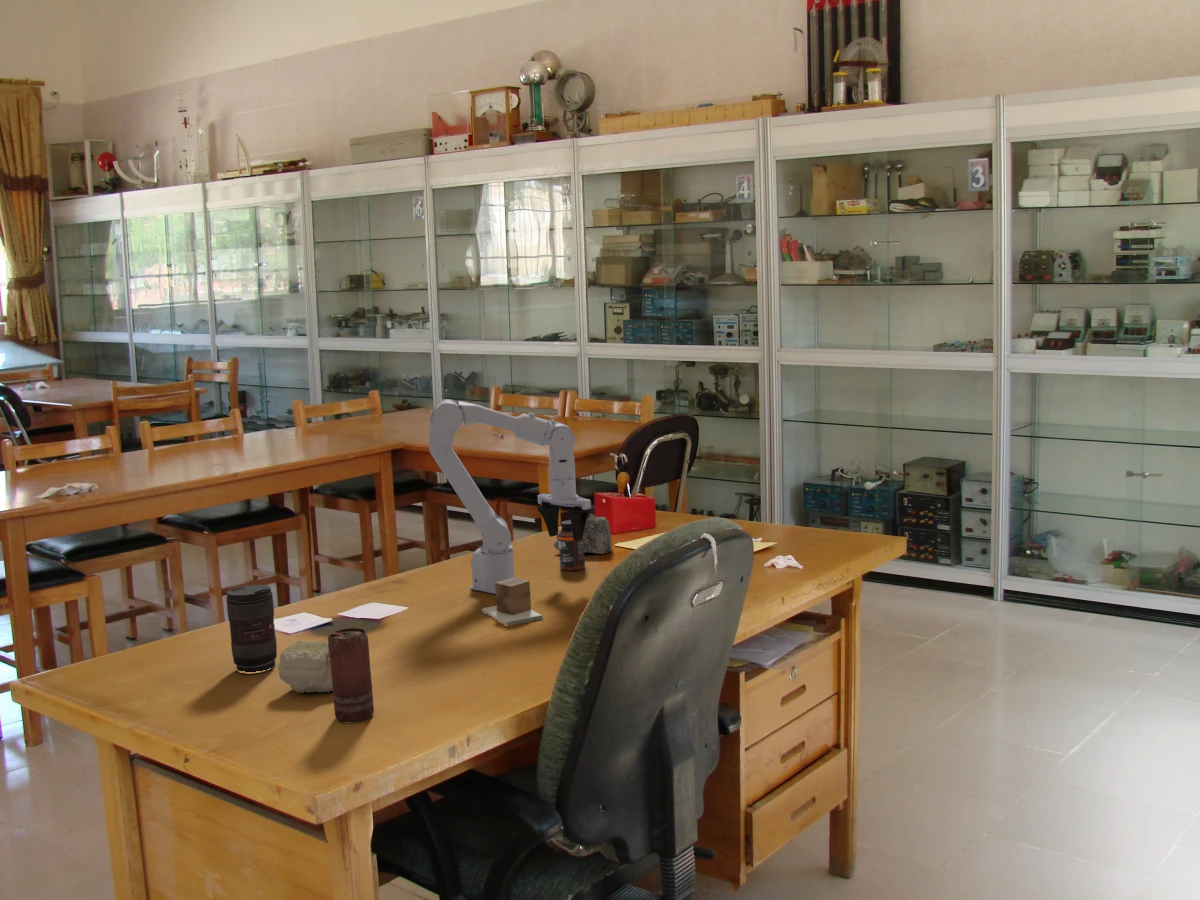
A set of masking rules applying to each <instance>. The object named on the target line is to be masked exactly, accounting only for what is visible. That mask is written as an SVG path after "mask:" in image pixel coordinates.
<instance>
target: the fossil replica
mask: <svg viewBox="0 0 1200 900" xmlns="http://www.w3.org/2000/svg"><path fill="white" fill-rule="evenodd" d="M277 667H278V675H279V678H280V680H281V681H283V682H284V683H285V684H287V685H289V686H290V688H291V689H292V690H293V691H295V692H297V693H298V692H299V693H300V694H302V693H304V692H310V693H313V692H314V693H322V692H325V693H326V692H328V691H329V692H328V693H331V692H330V691H333V686H332V675H331V664H330V653H329V648H328V640H327V641H326V640H314V641H313V640H312V641H311V640H310V641H302V640H297V641H296V642H294V643H291V644H290V645H289V646H287V647H285V648H284V649H283V650H282V651H281V653H280V655H279V664H278V666H277Z"/></svg>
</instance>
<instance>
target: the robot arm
mask: <svg viewBox="0 0 1200 900" xmlns="http://www.w3.org/2000/svg"><path fill="white" fill-rule="evenodd" d="M463 422H464V423H463ZM476 423H477V424H478V423H479V424H483V425H487V426H492V427H494V428H495V427H496V428H499V429H503V430H507V431H511V432H512V433H513V436H514V437H515V439H517V440H522V441H525V442H528V443H531V444H534V445H535V444H536V445H537V446H538V445H539V446H542V447H545V446H548V453H549V454H548V456H549V457H548V469H549V489H550V491H549V492H550V494H549V493H541V494H538V495H537V504H540V506H537V511H538V513H540V515H541V517H542V519H543V521H544V524H545V526H546V529H547V533H548V536H549V537H551V538H553V537H554V536H556V537H557V535H558V533H559V517H560V516H559V514H560V509H561V507H567V508H569V507H570V508H572V509H568V510H567V514H568V516H569V518H570V519H569V520H571V523H572V529H573V538H574V540H575V541H577V540H581V539H582V538H583V533H584V528H585V524H586V521H587V519H588V516H589V514H591V512H592V502H591V499H588V498H584V497H581V496H579V494H577V486H576V485H577V484H576V482H577V481H576V463H575V461H576V460H575V456H574V451H575V450H574V446H575V443H576V437H575V434H574V432H573V431H572V429H571V428H570V427H569V426H568V425H566V424H563V423H562V422H561V421H559V422H558V421H556V420H555V419H550V420H548V419H544V418H540V417H537V416H536V414H535V413H533V412H528V413H521V414H520V415H518V416H513V415H510V414H506V413H505V412H502V411H501V412H500V411H498V410H494V409H492V408H489V407H486V406H482V405H480V404H477V403H476V404H475V403H473V402H472V403H471V402H467V401H463V400H462V401H461V400H460V401H459V400H458V401H455V400H453V399H451V398H446V399H445V398H444V399H441V400H439V401H438V402H437V403H436V404H435V405H434V407H433V410H432V412H431V415H430V417H429V436H428V450H429V453H430V455H431V456H432V458H433V459H434V461H435V463H436V464H437V466H438V467H439V469H440V471H441V472H442V473H443V474H444V476H445V478H446V480H447V481H448V482H449V484H450V485H451V487H452V489H453V490H454V492H455V493H456V495H457V496H458V498H459V499H460V501H461V503H462V505H463V506H464V507H465V508H466V510H467V512H468V513H469V514H470V516H471V518H472V519H473V522H474V523H475V525H476V526H477V529H478V530H479V532H480V535H481V541H482V545H481V546H480V547H478V548H476V550H474V552H472V553H473V554H472V556H471V560H470V565H471V568H470V569H471V579H472V585H471V586H470V587H469V589H470V590H475V591H479V592H484V593H489V594H493V595H496V590H495V583H496V582H499V581H503V580H506V579H510V578H513V577H515V566H514V565H515V563H514V549H513V548H514V547H513V545H511V541H512V534H511V531H510V530H509V525H508V523H507V521H505V519H503V518H502V517H501V516H499V515H497V513H495V511H494V509H493V508H492V507H491V506H490V504H489V502H488V501H487V499H486V498H485V497H484V495H483V493H482V492H481V490H480V488H479V487H478V485H477V484H476V482H475V481H474V479H473V478H472V477H471V475H470V473H469V471H468V470H467V469H466V467H465V466H464V464H463V463H462V461H461V459H460V458H459V457H458V456H459V455H457V453H456V452H455V450H454V449H453V443H454V440H455V435H456V433H457V432H458V430H459V429H460V427H461V426H462V424H464V426H465V427H467V426H470V425H473V424H476Z"/></svg>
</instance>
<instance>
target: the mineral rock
mask: <svg viewBox="0 0 1200 900" xmlns="http://www.w3.org/2000/svg"><path fill="white" fill-rule="evenodd" d="M583 540H584V554H587V553H589V554H590V553H591V554H597V555H599V554H600V555H603V554H604V553H605V554H606V553H607V554H609V552H612V549H613V547H612V546H613V543H612V534H611V527H610V524H609V522H608V520H607V518H606V517H605V516H596V515H594V514H593V513H590V514H589V516H588V519H587V521H586V524H585V528H584V533H583ZM553 546H554V547H553V548H554V549H556V550H558V551H559V541H558V535H556V542H554V543H553ZM605 554H604V555H605Z"/></svg>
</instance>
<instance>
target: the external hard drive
mask: <svg viewBox="0 0 1200 900" xmlns="http://www.w3.org/2000/svg"><path fill="white" fill-rule="evenodd" d="M481 610H482V613H483V612H484V613H483V614H485V613H486V614H488V615H489V616H488V615H487V616H488V617H490V616H491V617H493V618H495V619H496V620H498V621H500V622H501V623H503V624H505V625H511V626H513V625H512V624H516V625H519V624H518V623H521V624H524V623H523V622H526V623H529V622H528V621H531V622H535V621H534V620H536V621H541V620H544V616H543V615H542V614H540V613H538V612H537V611H534V610H533V609H531V610H527V611H524V612H521V613H518V614H515V615H510V614H506V613H503V612H499V611H497V605H492V606H488V607H484V608H482V609H481ZM486 614H485V615H486ZM491 617H490V618H491ZM493 618H492V619H493ZM540 619H541V620H540ZM496 620H495V621H496ZM498 621H497V622H498ZM501 623H500V624H501ZM503 624H502V625H503Z"/></svg>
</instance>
